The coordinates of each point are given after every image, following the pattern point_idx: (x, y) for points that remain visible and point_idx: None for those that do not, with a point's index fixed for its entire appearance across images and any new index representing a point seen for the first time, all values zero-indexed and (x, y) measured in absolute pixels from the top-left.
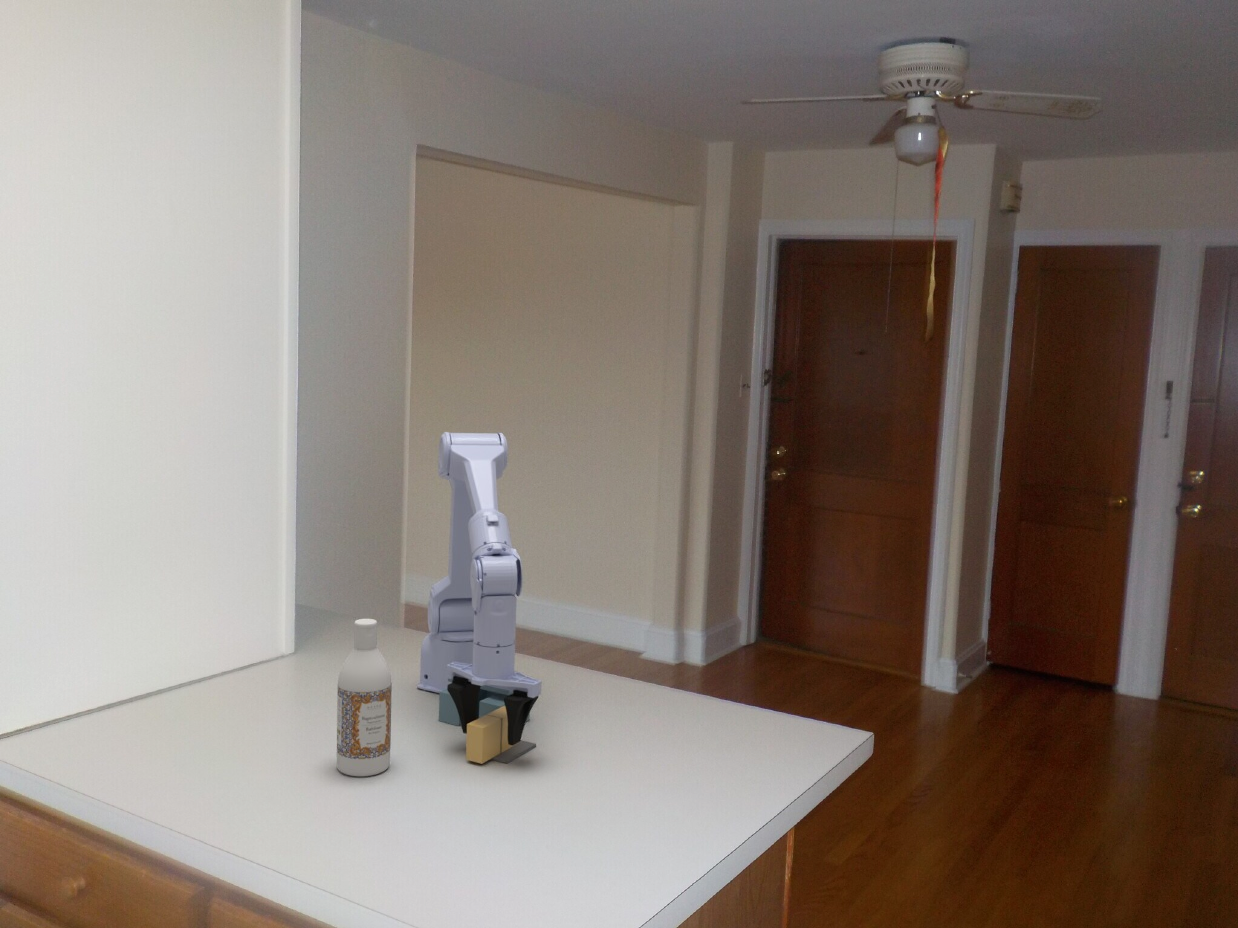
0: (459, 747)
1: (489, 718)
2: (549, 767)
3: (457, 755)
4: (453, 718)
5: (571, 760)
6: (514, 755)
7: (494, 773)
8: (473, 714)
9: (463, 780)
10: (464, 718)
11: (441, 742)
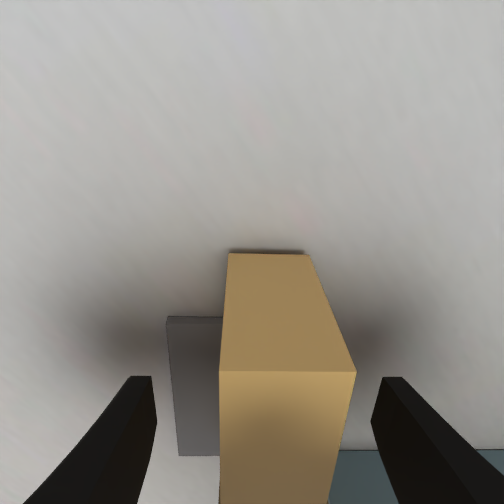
0: (395, 339)
1: (279, 482)
2: (29, 359)
3: (369, 284)
4: (502, 469)
5: (22, 425)
6: (175, 367)
7: (143, 220)
8: (405, 487)
9: (204, 77)
10: (427, 437)
11: (475, 341)
